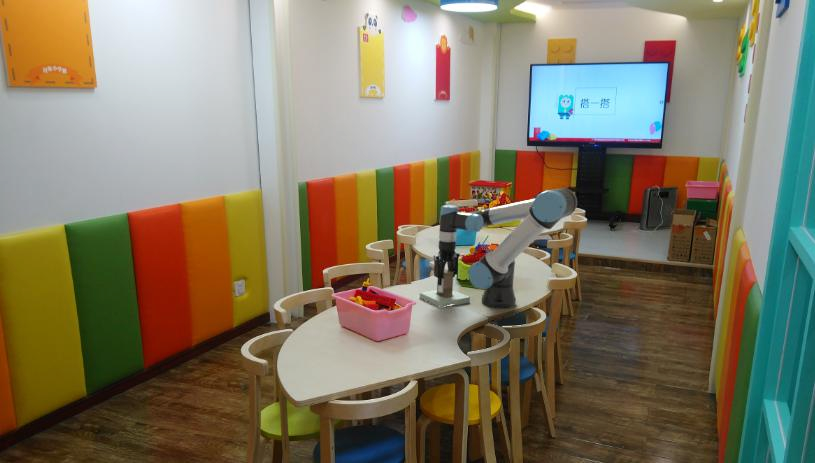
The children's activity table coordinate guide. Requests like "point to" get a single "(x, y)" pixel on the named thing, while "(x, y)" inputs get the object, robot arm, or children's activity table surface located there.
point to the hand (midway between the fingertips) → (444, 291)
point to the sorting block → (441, 301)
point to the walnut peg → (446, 284)
